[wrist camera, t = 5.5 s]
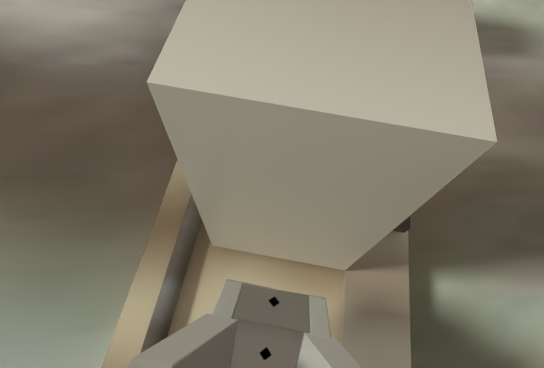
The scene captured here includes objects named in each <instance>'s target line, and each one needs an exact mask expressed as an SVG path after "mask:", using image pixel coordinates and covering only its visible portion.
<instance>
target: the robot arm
mask: <svg viewBox="0 0 544 368" xmlns="http://www.w3.org/2000/svg"><path fill="white" fill-rule="evenodd" d="M127 368H361V367H360V366H359V364H358V363H357V362H356V361H355V360H354V359H353V358H352V356H351V355H350V354H349V353H348V352H347V351H346V349H345V348H344V347H343V346H342V345H341V344H340V343H339V341H338V340H337V339H336V338H331V334H330V326H329V318H328V310H327V302H326V298H325V297H321V296H314V295H306V294H300V293H294V292H289V291H283V290H278V289H274V288H270V287H265V286H260V285H256V284H251V283H246V282H241V281H236V280H231V279H226V280H225V282H224V284H223V287H222V290H221V292H220V295H219V297H218V300H217V303H216V305H215V308H214V310H213V313H212V314H205V315H204V316H202V317H200V318H199V319H197V320H195V321H194V322H192V323H190V324H189V325H187V326H185V327H184V328H182V329H180V330H179V331H177V332H175V333H174V334H172V335H170V336H169V337H167V338H165V339H164V340H162V341H160V342H159V343H157V344H155V345H154V346H152V347H150V348H149V349H147V350H145V351H144V352H142V353H140V354H139V355H137V356H135V357H134V358H133V359H132V361H131V362H130V364H129V366H128V367H127Z"/></svg>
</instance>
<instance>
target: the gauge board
mask: <svg viewBox="0 0 544 368" xmlns="http://www.w3.org/2000/svg"><path fill="white" fill-rule="evenodd" d="M226 279H231V280H236V281H241V282H246V283H251V284H256V285H260V286H265V287H270V288H274V289H278V290H283V291H289V292H294V293H300V294H306V295H314V296H321V297H325V298H326V302H327V310H328V318H329V326H330V334H331V338H336V339H337V340H338V341H339V343H340V344H341V345H342V346H343V347H344V348H345V349H346V351H347V352H348V353H349V354H350V355H351V356H352V358H353V359H354V360H355V361H356V362H357V363H358V364H359V366H360V367H361V368H411V329H410V285H409V242H408V231H406V232H405V233H403V232H397V231H391V232H390V233H389V234H388V235H386V236H385V237H384V238H383V239H382V240H380V241H379V242H378V243H377V244H376V245H374V246H373V247H372V248H371V249H370V250H369V251H367V252H366V253H365V254H364V255H363V256H361V257H360V258H359V259H358V260H357V261H355V262H354V263H353V264H352V265H351V266H350V267H348V268H347V269H346V270H340V269H334V268H329V267H323V266H318V265H313V264H307V263H302V262H297V261H291V260H286V259H281V258H275V257H270V256H264V255H259V254H254V253H248V252H243V251H238V250H232V249H227V248H222V247H216V246H212V243H211V241H210V238H209V236H208V234H207V231H206V229H205V226H204V224H203V221H202V219H201V216H200V214H199V211H198V209H197V206H196V204H195V201H194V199H193V196H192V194H191V191H190V189H189V186H188V184H187V181H186V179H185V176H184V174H183V171H182V169H181V166H180V164H179V162H178V159H177V162H176V164H175V167H174V170H173V173H172V175H171V178H170V181H169V184H168V186H167V189H166V192H165V195H164V197H163V200H162V203H161V206H160V208H159V211H158V214H157V217H156V219H155V222H154V225H153V228H152V230H151V233H150V236H149V238H148V241H147V244H146V247H145V249H144V252H143V255H142V258H141V260H140V263H139V266H138V269H137V271H136V274H135V277H134V280H133V282H132V285H131V288H130V291H129V293H128V296H127V299H126V302H125V304H124V307H123V310H122V313H121V315H120V318H119V321H118V324H117V326H116V329H115V332H114V335H113V337H112V340H111V343H110V346H109V348H108V351H107V354H106V357H105V359H104V362H103V365H102V368H127V367H128V366H129V364H130V362H131V361H132V359H133V358H134V357H135V356H137V355H139V354H140V353H142V352H144V351H145V350H147V349H149V348H150V347H152V346H154V345H155V344H157V343H159V342H160V341H162V340H164V339H165V338H167V337H169V336H170V335H172V334H174V333H175V332H177V331H179V330H180V329H182V328H184V327H185V326H187V325H189V324H190V323H192V322H194V321H195V320H197V319H199V318H200V317H202V316H204V315H205V314H212V313H213V310H214V308H215V305H216V303H217V300H218V297H219V295H220V292H221V290H222V287H223V284H224V282H225V280H226Z"/></svg>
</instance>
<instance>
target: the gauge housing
mask: <svg viewBox="0 0 544 368" xmlns="http://www.w3.org/2000/svg"><path fill="white" fill-rule="evenodd" d="M147 85H148V87H149V89H150V92H151V94H152V97H153V99H154V102H155V104H156V107H157V109H158V112H159V114H160V117H161V119H162V122H163V124H164V127H165V129H166V132H167V134H168V137H169V139H170V142H171V144H172V147H173V149H174V152H175V154H176V157H177V159H178V162H179V164H180V166H181V169H182V171H183V174H184V176H185V179H186V181H187V184H188V186H189V189H190V191H191V194H192V196H193V199H194V201H195V204H196V206H197V209H198V211H199V214H200V216H201V219H202V221H203V224H204V226H205V229H206V231H207V234H208V236H209V238H210V241H211V243H212V246H216V247H222V248H227V249H232V250H238V251H243V252H248V253H254V254H259V255H264V256H270V257H275V258H281V259H286V260H291V261H297V262H302V263H307V264H313V265H318V266H323V267H329V268H334V269H340V270H346V269H347V268H348V267H350V266H351V265H352V264H353V263H354V262H355V261H357V260H358V259H359V258H360V257H361V256H363V255H364V254H365V253H366V252H367V251H369V250H370V249H371V248H372V247H373V246H374V245H376V244H377V243H378V242H379V241H380V240H382V239H383V238H384V237H385V236H386V235H388V234H389V233H390V232H391V231H397V232H403V233H405V232H406V231H408V230H409V229H410V215H411V214H412V213H414V212H415V211H416V210H417V209H418V208H420V207H421V206H422V205H423V204H424V203H425V202H427V201H428V200H429V199H430V198H431V197H433V196H434V195H435V194H436V193H437V192H439V191H440V190H441V189H442V188H443V187H444V186H446V185H447V184H448V183H449V182H450V181H452V180H453V179H454V178H455V177H456V176H457V175H459V174H460V173H461V172H462V171H463V170H465V169H466V168H467V167H468V166H469V165H471V164H472V163H473V162H474V161H475V160H476V159H478V158H479V157H480V156H481V155H482V154H484V153H485V152H486V151H487V150H488V149H490V148H491V147H492V146H493V145H494V144H495V143H497V138H496V132H495V127H494V121H493V116H492V110H491V105H490V99H489V93H488V88H487V82H486V77H485V71H484V66H483V60H482V55H481V49H480V44H479V38H478V33H477V27H476V22H475V16H474V11H473V5H472V0H186V1H185V3H184V5H183V7H182V9H181V11H180V13H179V15H178V17H177V19H176V22H175V24H174V26H173V28H172V30H171V32H170V34H169V36H168V38H167V40H166V42H165V45H164V47H163V49H162V51H161V53H160V55H159V57H158V59H157V61H156V63H155V65H154V68H153V70H152V72H151V74H150V76H149V78H148V80H147Z"/></svg>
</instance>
